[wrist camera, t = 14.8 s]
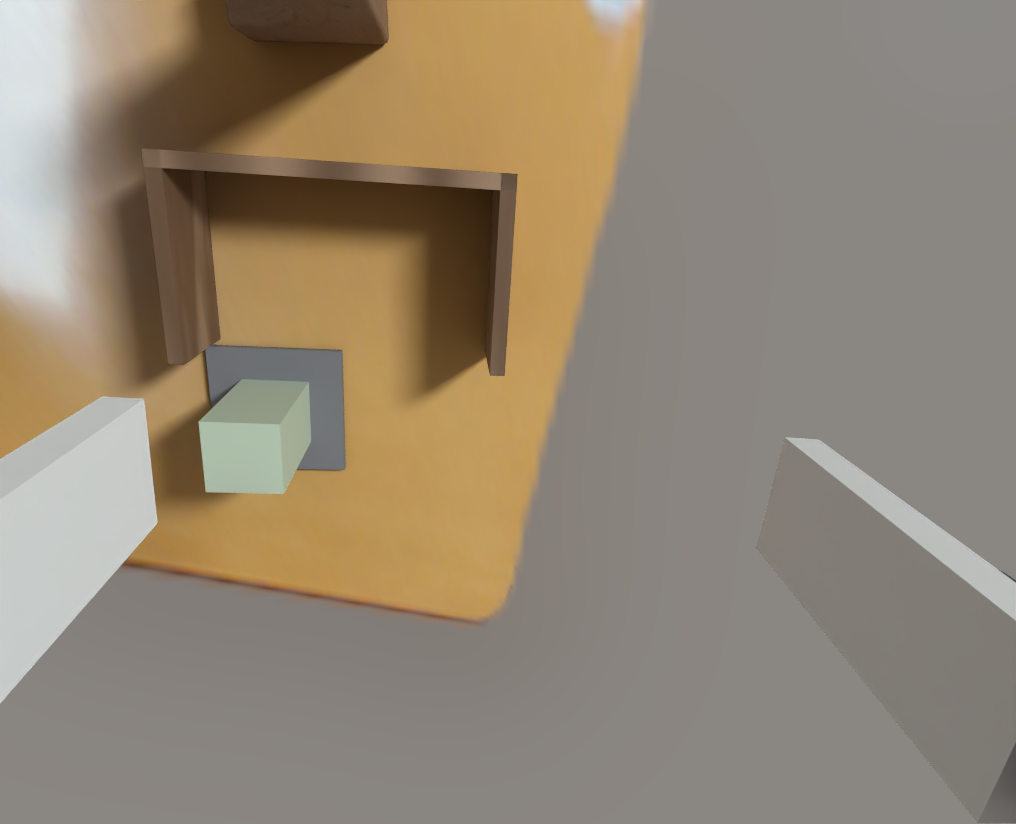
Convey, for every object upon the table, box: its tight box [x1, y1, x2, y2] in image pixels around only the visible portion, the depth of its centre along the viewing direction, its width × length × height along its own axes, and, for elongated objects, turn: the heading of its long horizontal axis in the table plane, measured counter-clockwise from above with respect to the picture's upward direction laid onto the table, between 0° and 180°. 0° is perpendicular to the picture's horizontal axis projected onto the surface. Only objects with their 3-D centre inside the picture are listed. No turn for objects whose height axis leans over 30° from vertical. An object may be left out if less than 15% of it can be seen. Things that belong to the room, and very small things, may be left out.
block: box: [199, 379, 311, 494], centre depth 45 cm, size 5×5×9 cm
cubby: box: [141, 148, 518, 376], centre depth 43 cm, size 22×13×7 cm, turn 86°
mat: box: [205, 345, 345, 470], centre depth 50 cm, size 10×10×1 cm
